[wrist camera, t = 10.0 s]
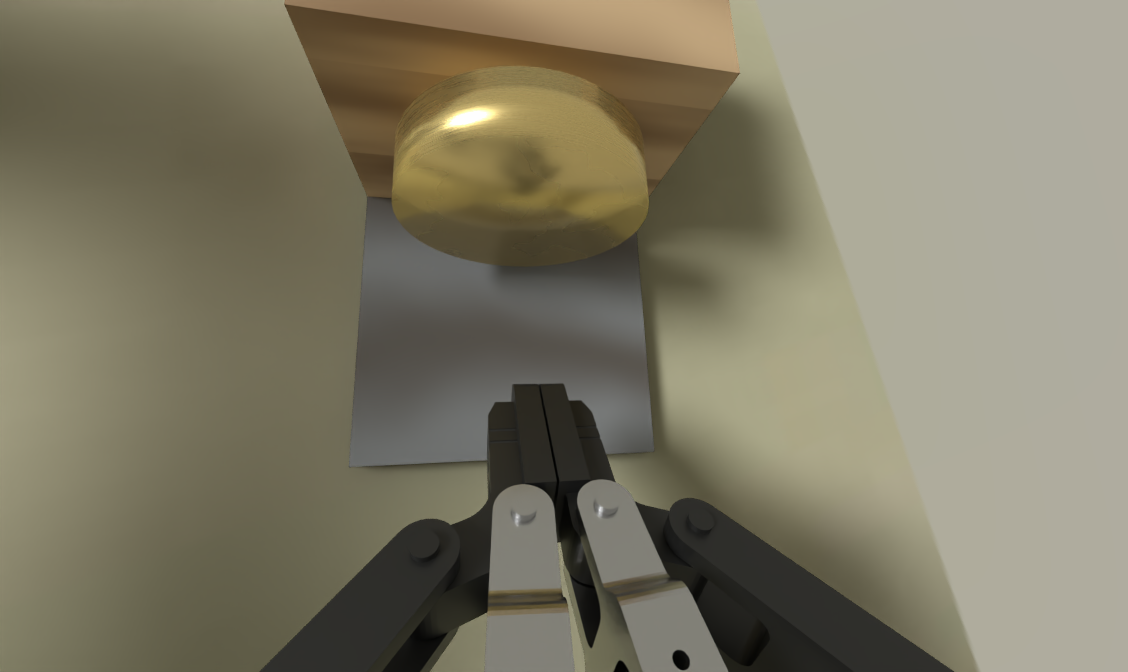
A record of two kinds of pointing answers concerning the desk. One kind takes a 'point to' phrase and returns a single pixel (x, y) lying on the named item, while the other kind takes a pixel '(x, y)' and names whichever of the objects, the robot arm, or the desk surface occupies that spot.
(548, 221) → the shaft
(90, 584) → the desk surface
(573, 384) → the bearing block
